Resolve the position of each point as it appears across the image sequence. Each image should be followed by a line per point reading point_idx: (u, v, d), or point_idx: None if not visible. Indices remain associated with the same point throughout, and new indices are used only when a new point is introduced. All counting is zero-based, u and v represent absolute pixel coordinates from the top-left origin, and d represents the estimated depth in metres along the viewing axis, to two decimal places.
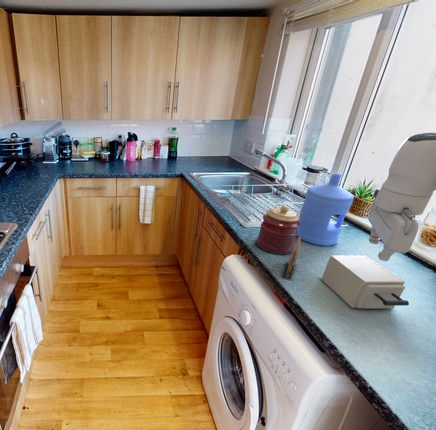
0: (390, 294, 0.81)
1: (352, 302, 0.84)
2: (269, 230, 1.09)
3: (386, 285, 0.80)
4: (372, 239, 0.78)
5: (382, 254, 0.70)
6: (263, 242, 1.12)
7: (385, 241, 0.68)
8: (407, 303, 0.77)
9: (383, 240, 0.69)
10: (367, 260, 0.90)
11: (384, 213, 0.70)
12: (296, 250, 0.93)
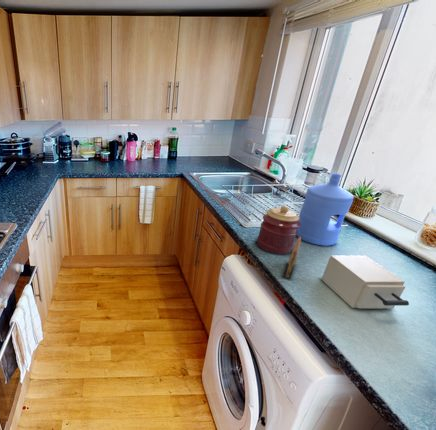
0: (390, 294, 0.81)
1: (352, 302, 0.84)
2: (269, 230, 1.09)
3: (386, 285, 0.80)
4: None
5: None
6: (263, 242, 1.12)
7: None
8: (407, 303, 0.77)
9: None
10: (367, 260, 0.90)
11: None
12: (296, 250, 0.93)
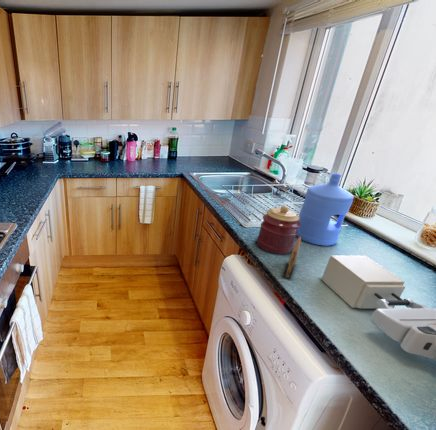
0: (390, 294, 0.81)
1: (352, 302, 0.84)
2: (269, 230, 1.09)
3: (386, 285, 0.80)
4: None
5: None
6: (263, 242, 1.12)
7: None
8: (407, 303, 0.77)
9: None
10: (367, 260, 0.90)
11: None
12: (296, 250, 0.93)
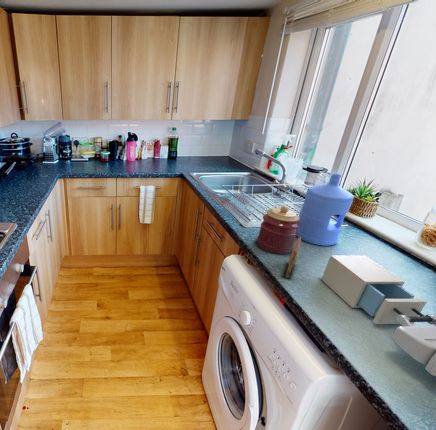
0: (410, 309, 0.76)
1: (352, 302, 0.84)
2: (269, 230, 1.09)
3: (406, 300, 0.75)
4: None
5: None
6: (263, 242, 1.12)
7: None
8: (430, 320, 0.72)
9: None
10: (367, 260, 0.90)
11: None
12: (296, 250, 0.93)
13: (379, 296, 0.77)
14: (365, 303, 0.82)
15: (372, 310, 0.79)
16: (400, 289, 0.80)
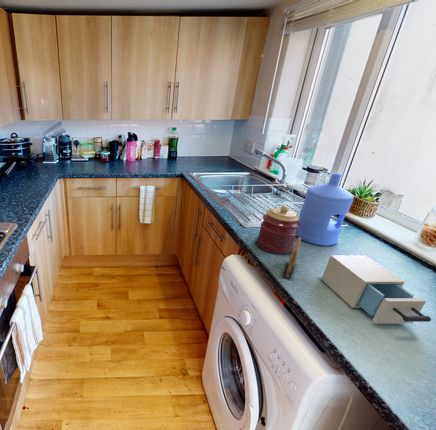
0: (410, 309, 0.76)
1: (352, 302, 0.84)
2: (269, 230, 1.09)
3: (405, 299, 0.75)
4: None
5: None
6: (263, 242, 1.12)
7: None
8: (429, 319, 0.72)
9: None
10: (367, 260, 0.90)
11: None
12: (296, 250, 0.93)
13: (379, 296, 0.77)
14: (364, 303, 0.82)
15: (371, 310, 0.80)
16: (399, 289, 0.80)
